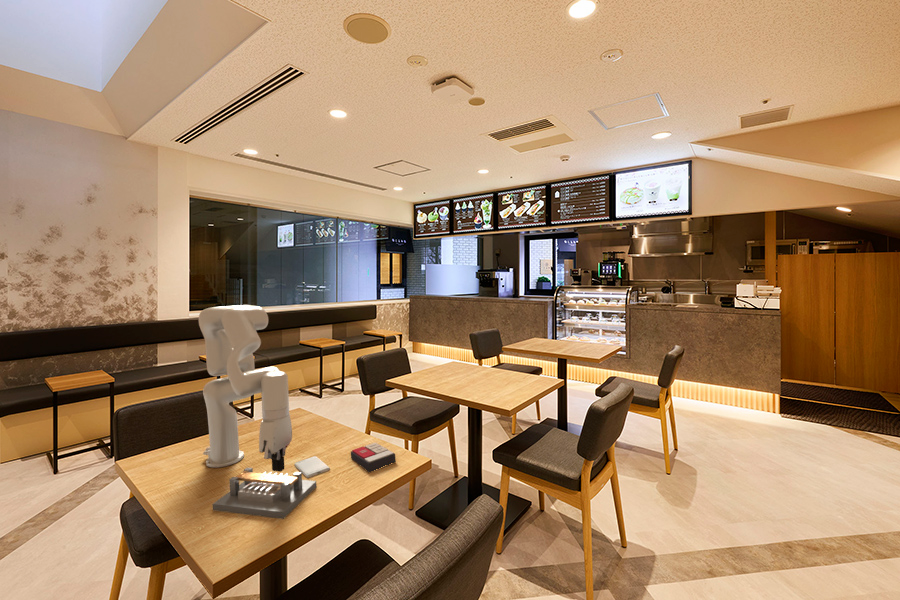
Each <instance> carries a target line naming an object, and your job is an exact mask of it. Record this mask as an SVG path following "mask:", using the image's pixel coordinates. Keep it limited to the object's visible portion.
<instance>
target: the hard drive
mask: <svg viewBox="0 0 900 600" xmlns="http://www.w3.org/2000/svg"><path fill="white" fill-rule="evenodd" d="M293 464H294V467H295V468H296V469H297V470H298V472H299V471H300V472H302V474H303V476H304V477H306V478H307V479H308V478H311V477H314V476H316V475H317V476H318V475H320V474H322V473H326V472H328V471H331V469H330V466H328V464H326V463H325V462H324V461H323V460H321V459H320V458H319V457H317V456H316V455H313V456H311V457H308V458H305V459H302V460H299V461H296V462H294V463H293Z"/></svg>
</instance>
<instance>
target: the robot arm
mask: <svg viewBox="0 0 900 600" xmlns="http://www.w3.org/2000/svg"><path fill="white" fill-rule="evenodd" d="M268 324H269V315H268V314H267V312H266V310H265V309H264V308H263V307H261V306H258V305H251V304H243V305H242V304H240V305H239V304H237V305H226V306H225V305H224V306H213V307H212V306H211V307H208V308H205V309H203V310H201V311H200V312H199V315H198V326H199V328H200V331H201V333H202V336H203V338H204V344H205V359H206V363H205V364H206V370H207V373H208V374H209V375H210V376H213V377H219V376H225V377H221V378H216V379H213V380H210V381H209V382H207V383H205V385H204V386H203V390H202V394H203V399H204V402H205V407H206V412H207V414H206V415H207V424H208V439H209V446H207V447H206V448H205V450H204V451H203V455H204V456H208V457H207V459H206V460H205V464H206V466H207V467H208V468H222V467H223V468H225V467H227V466H231V465H233V464H236V463H238V462H240V461H241V460H242V459H243V458H244V457H245V452H244V451H242V450H240V443H239V442H240V441H239V426H238V425H239V424H238V412H237V410H236V409H235V408H234V407H233V406H232V405H230V403H233V402H235V401H240V400H244V399H247V398H250V397H252V396H253V395H257V394H260V393H261V394H260V395H261V411H262V412H261V413H262V420H261V421H260V424H259V425H260V427H259V433H258V434H259V436H258V437H259V439H258V447H259V453H260V454H262V453H264V454H263V459H265V460H269V459H270V460H271V470H272V471H273V472H278V473H279V472H281V473H282V471H284V470H285V456H286V449H287V448H288V446H290V444H291V442H292V439H293V427H292V420H291V419H292V418H291V414H290V399H289V377H288V374H287V373H286V372H285V371H282V370H280V369H279V368H278V367H277V366H267V367H262V368H255V357H254V354H253V353H255V352H256V351H257V350H258V349H260V346H261V344H262V340H261V338H260V336H259V334H258V331H259V330H264V329H266V328H267V327H268ZM226 375H227V376H226Z"/></svg>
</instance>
